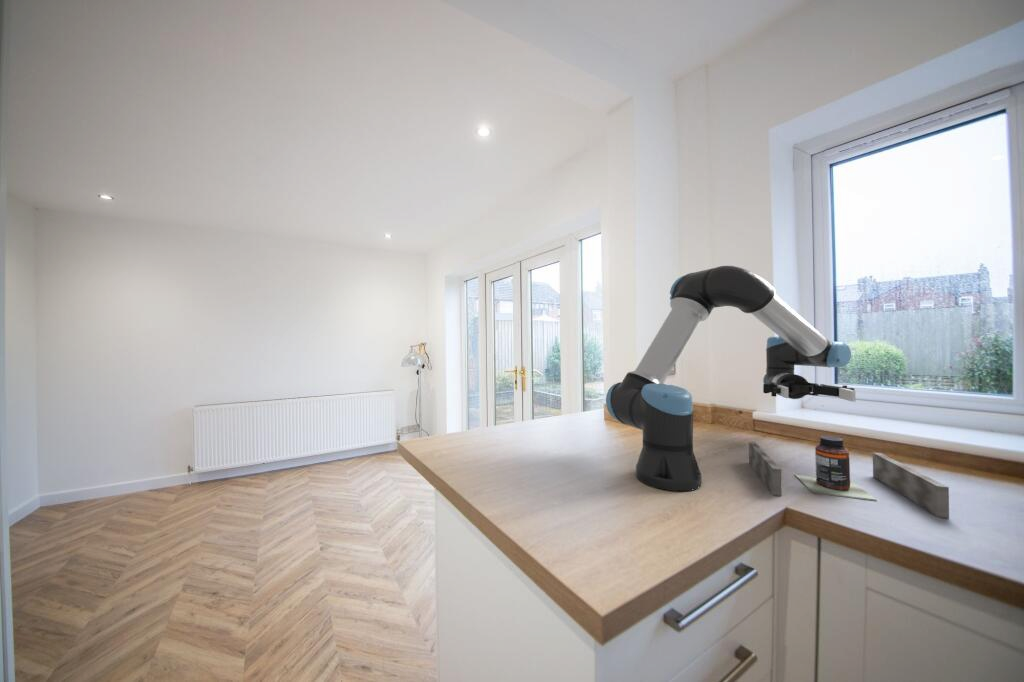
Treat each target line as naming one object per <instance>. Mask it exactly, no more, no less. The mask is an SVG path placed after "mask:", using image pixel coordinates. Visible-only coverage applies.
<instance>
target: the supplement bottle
mask: <svg viewBox="0 0 1024 682" xmlns="http://www.w3.org/2000/svg"><path fill="white" fill-rule="evenodd" d="M819 438H820V439H819V440H820V441H819V443H818V444H817V445H816V446H815V448H814V451H815V453H814V454H815V455H814V457H815V477H816V481H817V483H818V484H820V485H822V486H824V487H827V488H831V489H836V490H847V489H849V488H850V481H851V471H850V469H851V468H850V467H851V466H850V465H851V463H850V452H849V450H848V449H847V448H845V446H844V440H843V438H841V437H836V436H831V435H821V436H820V437H819Z"/></svg>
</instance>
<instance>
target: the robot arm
mask: <svg viewBox="0 0 1024 682" xmlns="http://www.w3.org/2000/svg"><path fill="white" fill-rule="evenodd" d="M669 294H670V297H669V300H670V303H669V305H670V308H671V310H670V312H668V315H667V316H666V318H665V319H664V321H663V323H662V325H661V327H660V329H659V330H658V331H657V333H656V335H655V337H654V338H653V340H652V341H651V343H650V345H649V347H648V349H646V351H645V353H644V355H643V357H642V358H641V359H640V362H639V363H638V365H637V367H636V368H635V370H632V371H629V372H627V373H626V374H625V376H624V378H623V380H622V381H621V382H617V383H614V384H612V386H610V387H609V389H608V391H607V393H606V395H605V396H606V397H605V404H606V409H607V411H608V413H609V415H610V416H611V417H612V418H613V419H614V420H616V421H618V422H620V423H621V424H624V425H627V426H631V427H634V428H636V429H639V430H642V447H641V451H640V454H639V455H638V456H639V457H638V459H637V463H636V466H635V477H636V479H638V481H640V482H641V481H642V483H643V482H644V483H643V484H645V483H646V484H645V485H647V484H648V485H647V486H650V485H651V486H650V487H652V486H654V487H653V488H656V487H657V488H656V489H660V488H661V489H660V490H664V489H667V490H666V491H671V490H677V491H676V492H682V491H681V490H690V491H693V490H692V489H695V490H697V489H696V488H698V487H699V488H701V487H702V485H701V484H702V472H701V470H700V468H699V464H698V461H697V459H696V455H695V453H694V405H693V396H692V394H691V393H690V392H689V391H688V390H687V389H686V388H683V387H680V386H678V385H673V384H665V382H666V380H667V378H668V376H669V374H670V373H671V371H672V370H673V368H674V366H675V364H676V362H677V361H678V359H679V357H680V355H681V354H682V352H683V350H684V349H685V347H686V345H687V343H688V342H689V340H690V338H691V336H692V335H693V333H694V331H695V329H696V328H697V326H698V324H699V323H700V322H703V321H704V322H705V321H706V320H707V319H708V318H709V317H710V315H711V313H712V312H713V310H714V308H720V307H721V308H722V307H733V308H737V309H738V310H740V311H741V312H743V313H745V314H752V316H754V317H755V318H756V319H758V320H759V322H761V323H762V324H763V325H765V326H766V327H767V328H768V329H770V331H772V332H774V334H776V335H777V336H769V337H768V338H767V339H766V348H765V352H766V356H765V357H766V368H765V369H766V370H765V375H764V376H763V379H762V382H763V384H762V386H763V387H762V389H763V390H762V391H763V392H762V393H763V394H770V393H771V397H777V396H780V397H783V398H786V399H791V400H799V399H802V398H804V397H806V396H816V397H817V396H820V395H821V396H829V397H835V398H836V397H838V399H841V400H844V401H845V400H846V401H849V402H853V403H855V402H856V389H855V388H853V387H848V385H842V386H835V385H829V384H828V385H827V384H823V383H820V384H819V383H814V382H808V380H807V379H806V378H805V377H804V376H801V375H799V374H795V366H805V367H806V366H807V367H808V366H810V367H820V368H821V367H822V368H843V367H846V366H847V365H849V363H850V361H851V358H852V350H851V347H850V346H849V344H847V343H846V342H841V341H830V340H829V339H828V338H827V337H825V336H824V335H823V334H822V333H821V332H819V330H817V328H815V327H814V326H813V325H811V324H810V323H809V322H808V321H807V320H806V319H804V318H803V316H801V315H800V314H799V313H797V312H796V311H795V310H794V309H793V308H791V307H790V306H789V304H787V303H786V301H783V299H781V298H780V297H779V296H778V295H777V294H776V289H775V287H774V286H773V285H771V284H770V283H769V282H768V281H767V280H765V278H763V277H761V276H759V275H758V274H756V273H754V272H753V271H750V270H748V269H746V268H745V269H744V268H743V267H739V266H734V265H720V266H717V267H713V268H708V269H703V270H700V271H695V272H689V273H687V274H685V275H682V276H680V277H678V278H677V279H676V280H675V281H674V282H673V284H672V285H671V287H670V291H669ZM699 488H698V489H699ZM678 490H680V491H678Z"/></svg>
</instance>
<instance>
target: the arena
mask: <svg viewBox="0 0 1024 682" xmlns="http://www.w3.org/2000/svg"><path fill="white" fill-rule="evenodd" d="M748 464H749V465H750V466H751V468H752V470H754V472H755V473H756V475H757V476H758V477H759V478H760V480H761V481H762V483H764V484H763V485H765V487H767V489H768V491H769V492H770V493H771V495H772V496H778V497H782V494H783V493H782V492H783V491H782V468H781V467H780V466H778V464H777V463H776V462H775V461H774V460H773V459H772V458H771V457H770V456H769V455H768V454H767V453H766V452H765V450H763V448H761V447H760V446H759V444H758V443H757V442H754V441H753V442H751V441H748ZM794 476H795V477H796V479H798V480H799V482H801V483H802V484H803V486H805V487H806V488H807V489H808V491H810V492H811V493H812V494H818V495H827V496H834V497H835V496H836V497H842V498H843V497H844V498H848V499H849V498H851V499H857V500H858V499H859V500H865V501H866V500H867V501H875V502H877V500H878V499H877V498H875V497H874V496H873V495H871V494H870V493H868V492H867V491H866V490H865V489H863V488H861V487H860V486H859V485H858V484H856V483H854V482H853V481H852V480H850V488H849V489H847V490H836V489H831V488H827V487H824V486H822V485H820V484H818V483H817V481H816V476H814V475H813V476H812V475H805V474H804V475H803V474H794ZM872 476H873V477H874V478H875V479H877V480H878V481H880V482H882V483H883V484H885V485H887V486H888V487H890V488H891V489H892V490H894V491H896V492H897V493H899V494H901V496H902V495H903V496H904V497H905V496H906V498H907V497H908V498H907V499H909V500H910V501H911V502H913V501H914V503H915V504H917V505H918V504H919V505H918V506H919V507H921V506H922V507H921V508H923V509H924V508H925V510H926V511H928V512H930V514H933V515H934V516H936V518H937V517H938V518H945V519H950V494H949V493H950V492H949V491H950V490H949V487H948V486H947V485H945V484H943V483H941V482H939V481H937V480H935V479H933V478H931V477H929V476H927V475H925V474H923V473H921V472H919V471H917V470H915V469H913V468H911V467H909V466H908V465H905V464H903V463H901V462H900V461H898V460H895V459H893V458H892V457H889V456H888V455H886V454H884V453H881V452H872Z"/></svg>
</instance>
